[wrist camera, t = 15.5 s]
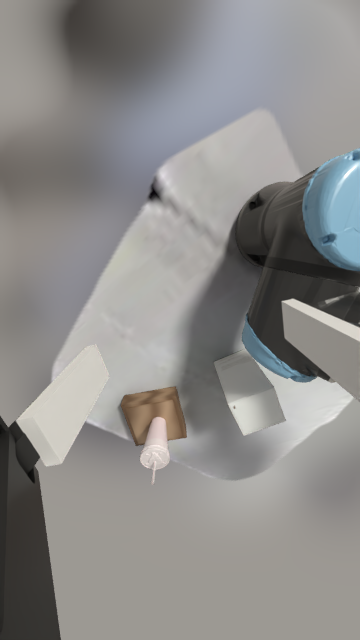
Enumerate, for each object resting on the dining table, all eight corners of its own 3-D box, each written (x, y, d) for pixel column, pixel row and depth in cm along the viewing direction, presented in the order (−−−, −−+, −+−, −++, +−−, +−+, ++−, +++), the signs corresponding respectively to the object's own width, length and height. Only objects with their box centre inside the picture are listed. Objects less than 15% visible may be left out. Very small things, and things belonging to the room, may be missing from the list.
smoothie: (147, 432, 53) (138, 493, 40) (144, 413, 51) (133, 471, 38) (172, 431, 53) (170, 491, 40) (169, 411, 51) (167, 469, 38)
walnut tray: (175, 386, 53) (175, 396, 49) (186, 426, 58) (186, 438, 54) (124, 395, 54) (120, 406, 50) (138, 434, 59) (135, 447, 55)
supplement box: (225, 388, 54) (242, 438, 40) (212, 361, 51) (226, 404, 37) (258, 375, 52) (287, 422, 38) (246, 347, 50) (274, 386, 36)
